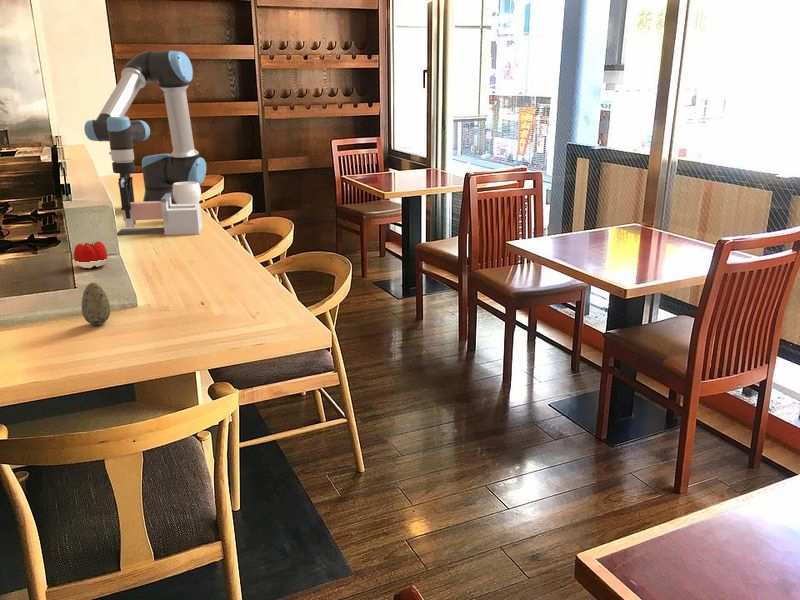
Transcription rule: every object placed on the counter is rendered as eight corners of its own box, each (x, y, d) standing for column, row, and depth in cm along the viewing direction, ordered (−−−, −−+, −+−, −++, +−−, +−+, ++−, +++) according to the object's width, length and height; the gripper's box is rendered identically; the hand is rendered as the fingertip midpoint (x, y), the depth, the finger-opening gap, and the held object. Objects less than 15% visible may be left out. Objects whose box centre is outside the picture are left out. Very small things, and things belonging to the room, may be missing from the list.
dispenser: (169, 227, 257) (166, 193, 253) (202, 226, 259) (199, 192, 255) (164, 235, 245) (160, 199, 241) (199, 234, 247) (195, 198, 243)
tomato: (69, 269, 201) (66, 244, 199) (92, 262, 209) (88, 238, 207) (94, 272, 198) (91, 247, 196) (116, 265, 206) (113, 241, 204)
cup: (207, 218, 274) (204, 181, 270) (197, 224, 264) (193, 185, 259) (182, 218, 275) (178, 181, 271) (171, 223, 265) (167, 185, 260)
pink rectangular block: (125, 218, 249) (123, 202, 247) (165, 216, 251) (163, 200, 249) (123, 220, 245) (121, 204, 243) (163, 219, 247) (162, 202, 246)
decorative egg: (84, 330, 152) (77, 288, 149) (84, 322, 158) (78, 281, 155) (112, 326, 155) (106, 285, 152) (111, 318, 160) (106, 278, 157)
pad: (121, 230, 253) (121, 228, 252) (166, 228, 255) (166, 227, 255) (117, 235, 245) (117, 233, 245) (163, 233, 248) (163, 231, 248)
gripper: (116, 158, 248) (124, 221, 255) (106, 164, 232) (115, 231, 239) (138, 158, 249) (145, 221, 257) (129, 163, 233) (137, 230, 241)
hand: (131, 225), depth 248 cm, fingers closed on pink rectangular block, 4 cm apart
